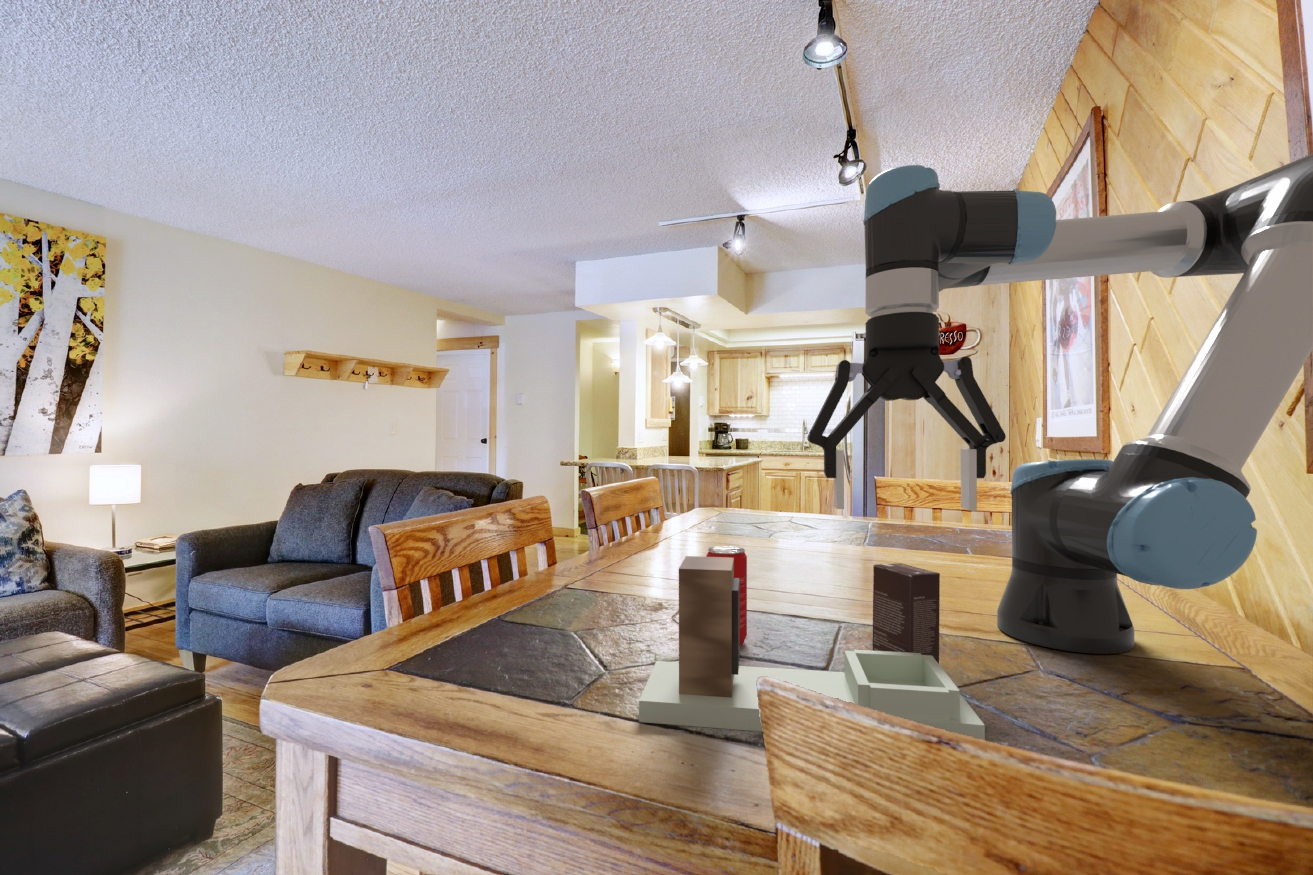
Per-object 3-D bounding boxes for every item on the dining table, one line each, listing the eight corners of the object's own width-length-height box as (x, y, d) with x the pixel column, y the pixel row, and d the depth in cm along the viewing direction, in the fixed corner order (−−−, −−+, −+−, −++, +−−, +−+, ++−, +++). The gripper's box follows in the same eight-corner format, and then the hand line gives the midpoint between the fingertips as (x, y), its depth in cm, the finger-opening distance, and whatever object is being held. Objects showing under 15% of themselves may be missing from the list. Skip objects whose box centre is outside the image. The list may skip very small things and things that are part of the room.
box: (942, 684, 65) (942, 572, 65) (908, 690, 63) (908, 575, 63) (901, 664, 71) (901, 561, 71) (869, 669, 69) (869, 564, 69)
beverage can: (745, 650, 75) (745, 554, 75) (704, 647, 76) (703, 552, 76) (747, 637, 80) (747, 546, 80) (708, 634, 81) (708, 545, 81)
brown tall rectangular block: (739, 673, 63) (739, 557, 63) (738, 697, 57) (737, 570, 57) (686, 669, 64) (685, 556, 64) (678, 693, 58) (678, 568, 58)
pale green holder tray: (948, 697, 62) (948, 653, 62) (984, 748, 52) (984, 695, 52) (656, 679, 66) (656, 638, 66) (639, 721, 57) (638, 673, 57)
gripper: (1010, 317, 69) (1011, 505, 69) (784, 326, 73) (785, 503, 73) (1040, 303, 61) (1041, 514, 61) (787, 314, 65) (788, 511, 65)
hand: (902, 508), depth 67 cm, fingers open, 13 cm apart
